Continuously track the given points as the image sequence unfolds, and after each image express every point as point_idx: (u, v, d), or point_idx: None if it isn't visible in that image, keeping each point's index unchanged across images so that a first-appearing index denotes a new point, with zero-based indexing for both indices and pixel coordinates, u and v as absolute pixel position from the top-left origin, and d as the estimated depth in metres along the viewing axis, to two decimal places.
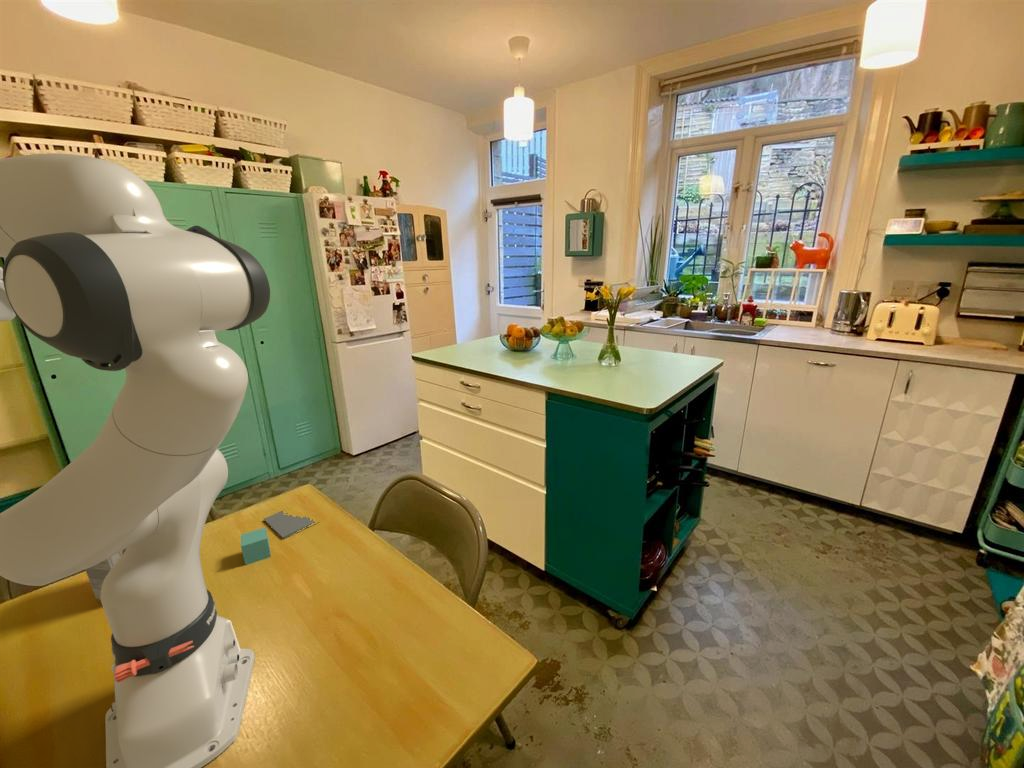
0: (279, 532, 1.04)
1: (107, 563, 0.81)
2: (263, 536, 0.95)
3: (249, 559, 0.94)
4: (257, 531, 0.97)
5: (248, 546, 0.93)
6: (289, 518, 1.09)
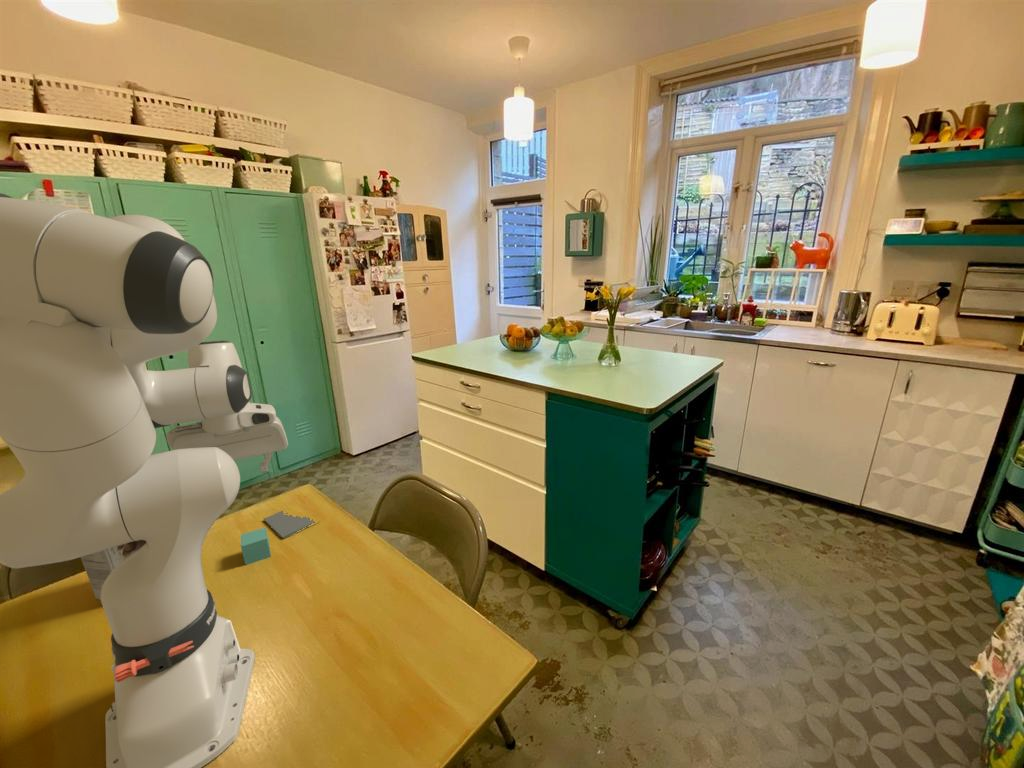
0: (279, 532, 1.04)
1: (107, 563, 0.81)
2: (262, 536, 0.95)
3: (249, 559, 0.94)
4: (257, 531, 0.97)
5: (248, 546, 0.93)
6: (289, 518, 1.09)
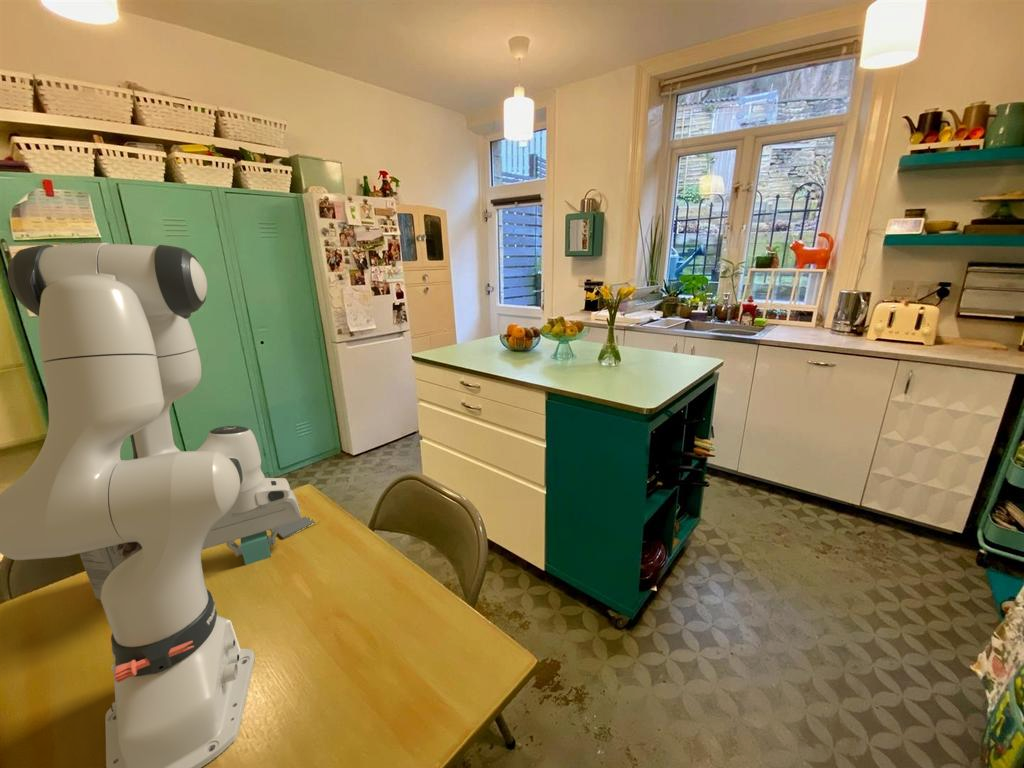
0: (279, 532, 1.04)
1: (107, 563, 0.81)
2: (262, 535, 0.95)
3: (248, 559, 0.94)
4: None
5: (248, 546, 0.93)
6: None
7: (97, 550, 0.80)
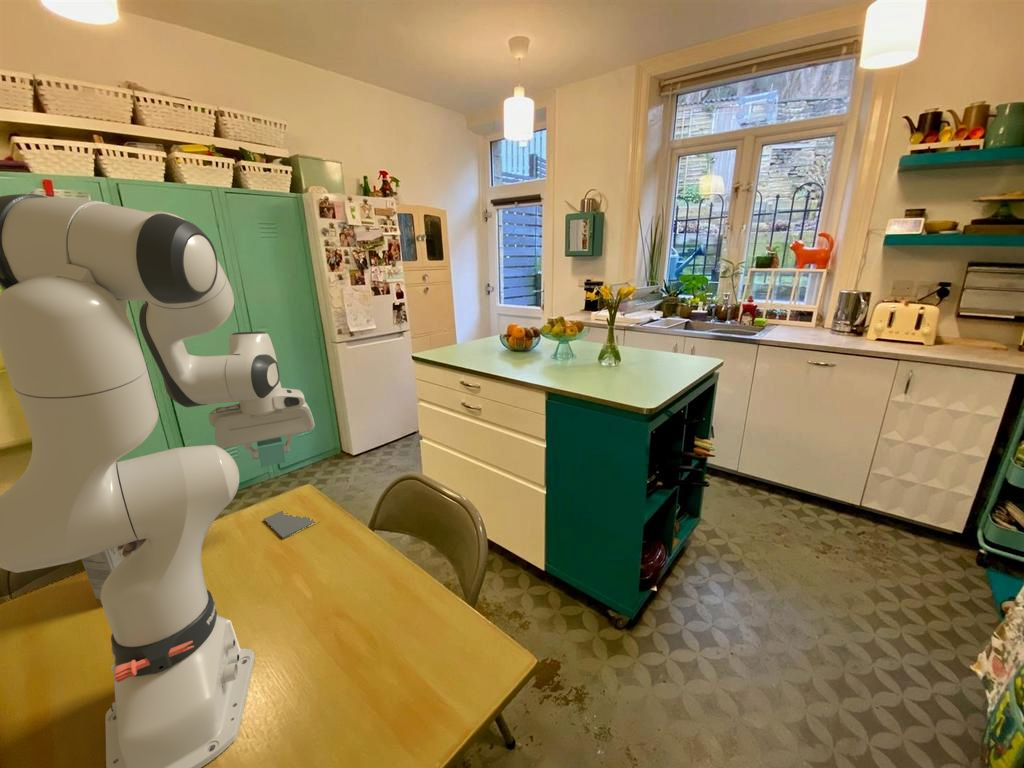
0: (279, 532, 1.04)
1: (107, 563, 0.81)
2: (278, 441, 1.00)
3: (265, 462, 0.98)
4: (272, 438, 1.02)
5: (264, 449, 0.98)
6: (289, 518, 1.09)
7: None
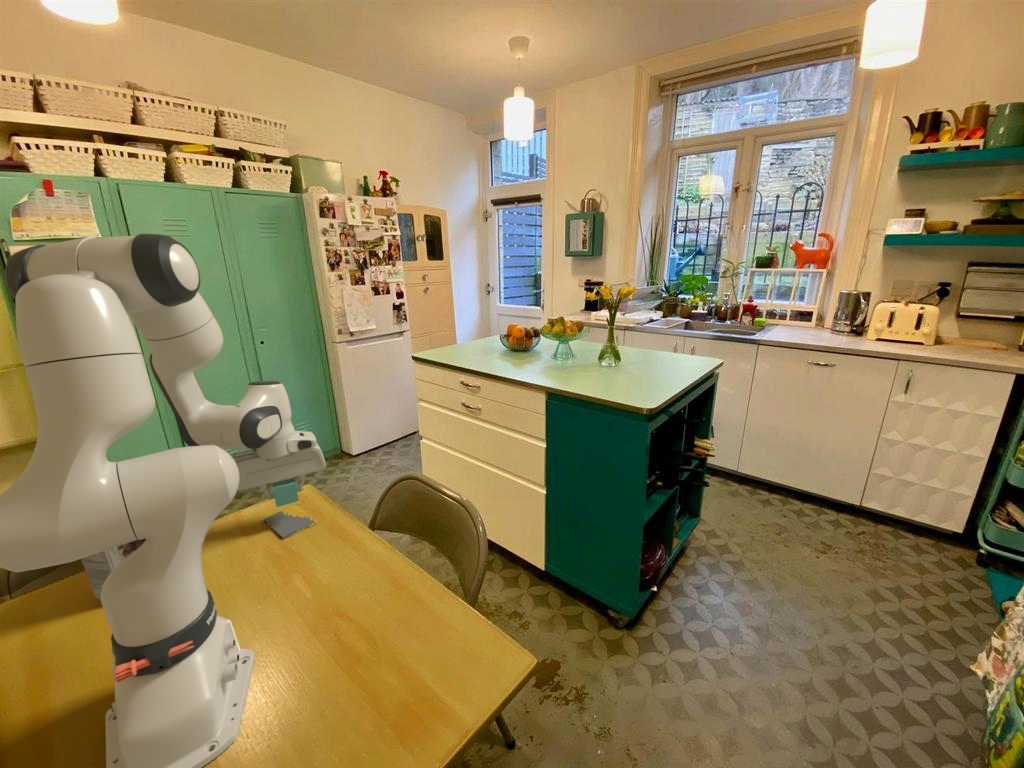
0: (279, 532, 1.04)
1: (107, 563, 0.81)
2: (291, 481, 1.06)
3: (279, 501, 1.04)
4: None
5: (279, 489, 1.03)
6: (289, 518, 1.09)
7: None
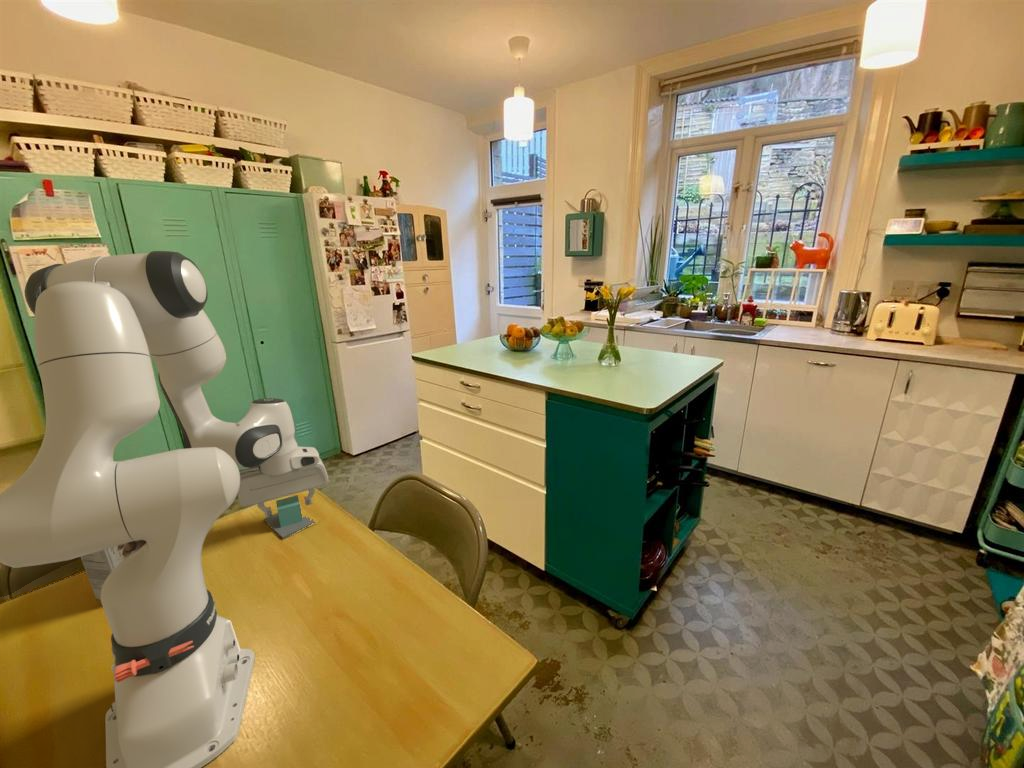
0: (279, 532, 1.04)
1: (107, 563, 0.81)
2: (295, 502, 1.07)
3: (284, 522, 1.06)
4: (290, 498, 1.09)
5: (283, 510, 1.05)
6: None
7: None
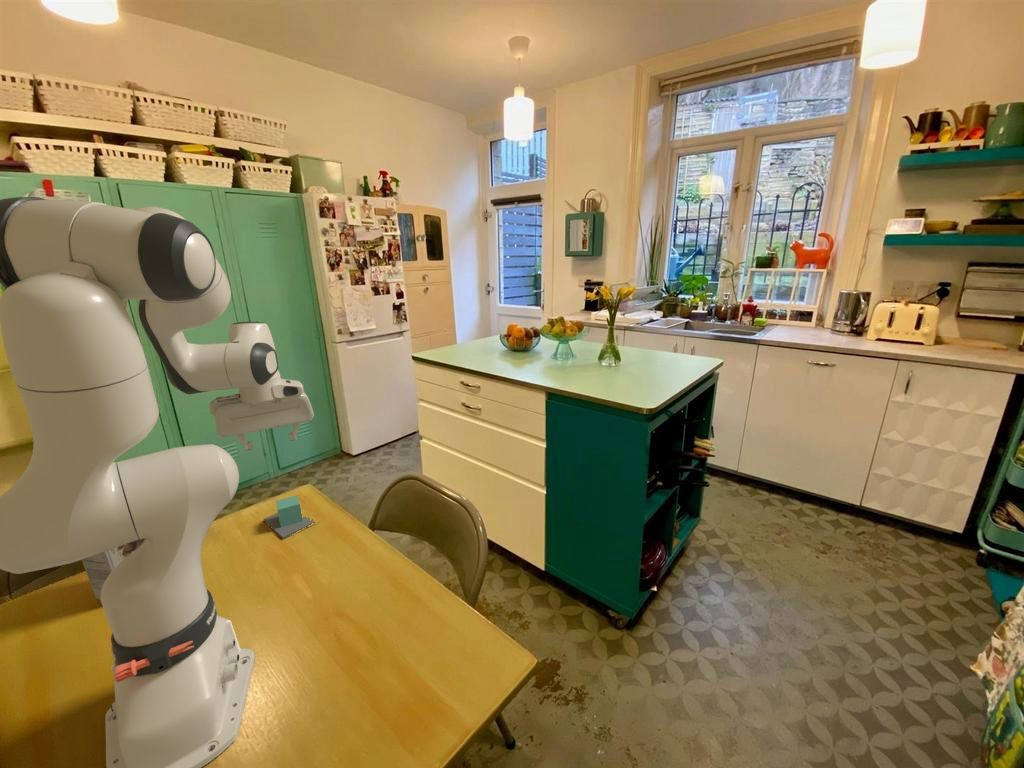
0: (279, 532, 1.04)
1: (107, 563, 0.81)
2: (295, 502, 1.07)
3: (284, 522, 1.06)
4: (290, 498, 1.09)
5: (283, 510, 1.05)
6: None
7: None
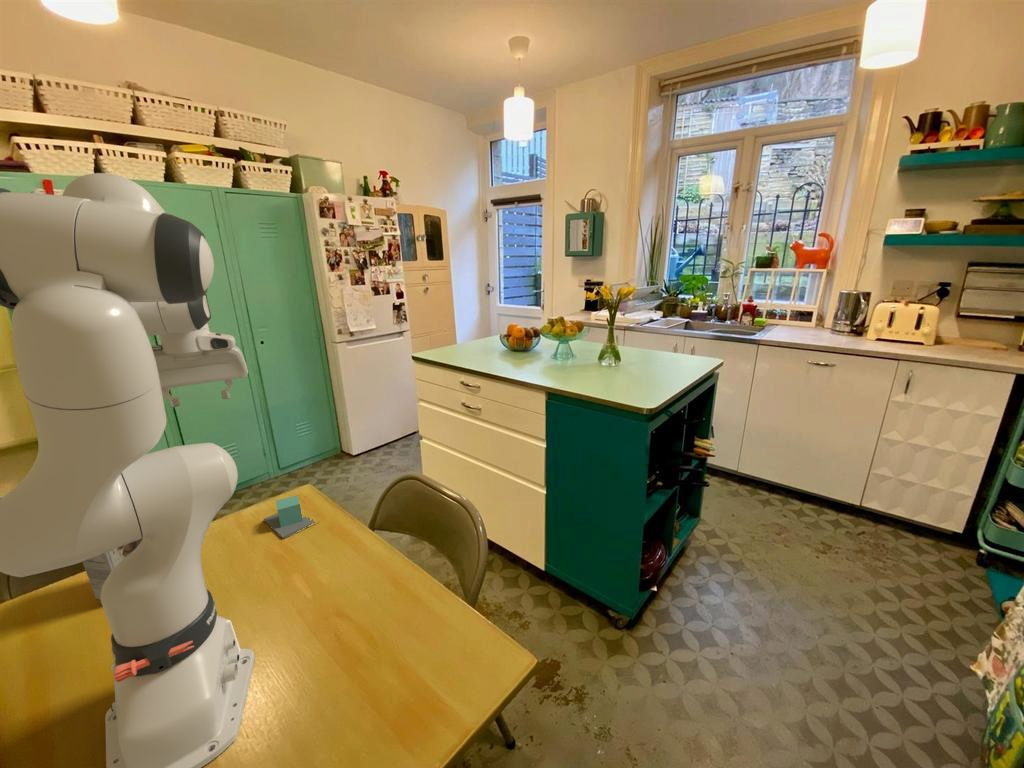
0: (279, 532, 1.04)
1: (107, 563, 0.81)
2: (295, 502, 1.07)
3: (284, 522, 1.06)
4: (290, 498, 1.09)
5: (283, 510, 1.05)
6: None
7: None
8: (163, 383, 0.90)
